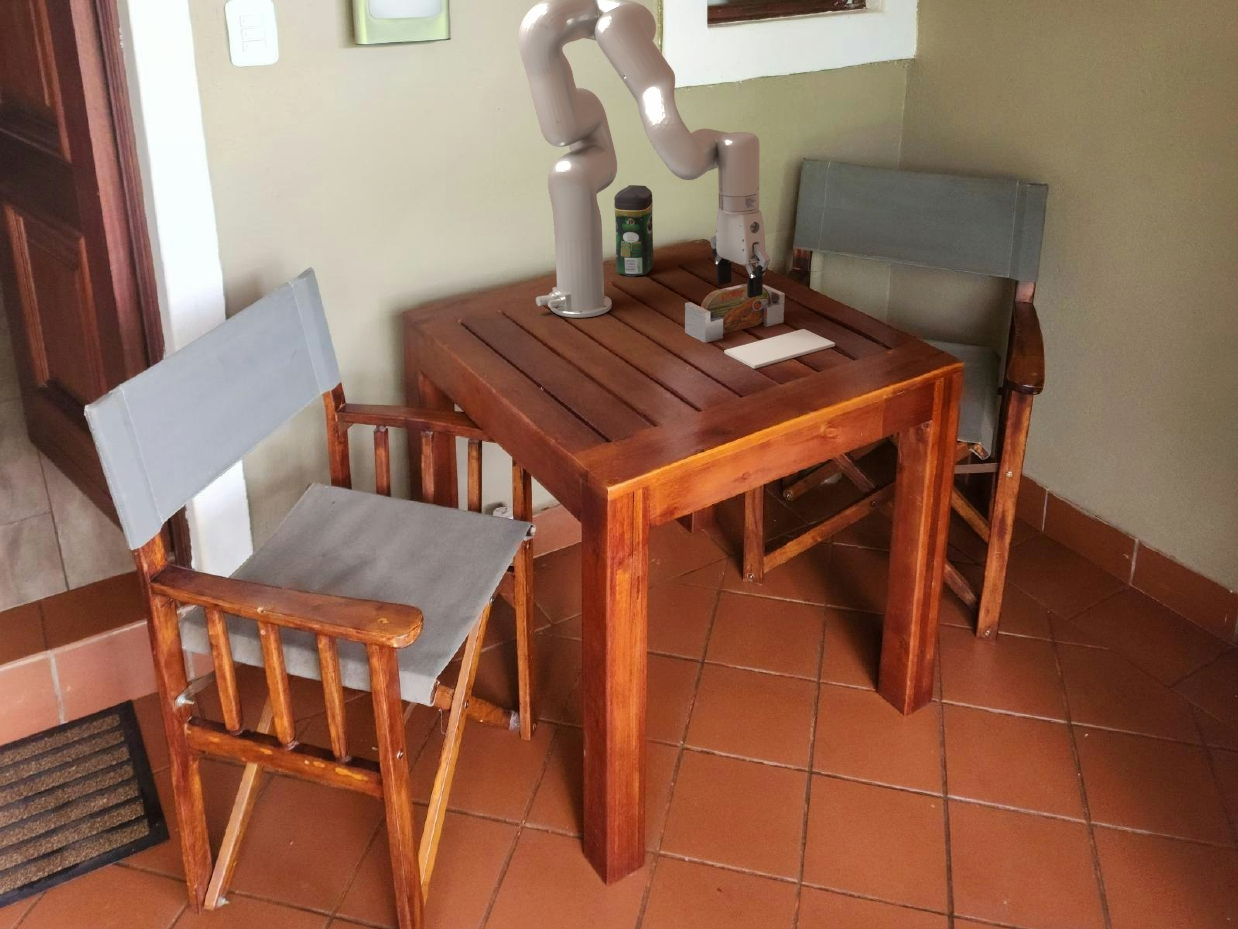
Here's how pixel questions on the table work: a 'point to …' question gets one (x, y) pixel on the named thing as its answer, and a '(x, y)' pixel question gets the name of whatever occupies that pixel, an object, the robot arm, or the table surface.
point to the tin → (736, 307)
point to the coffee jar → (634, 230)
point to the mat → (779, 348)
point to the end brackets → (712, 329)
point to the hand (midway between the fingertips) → (739, 289)
